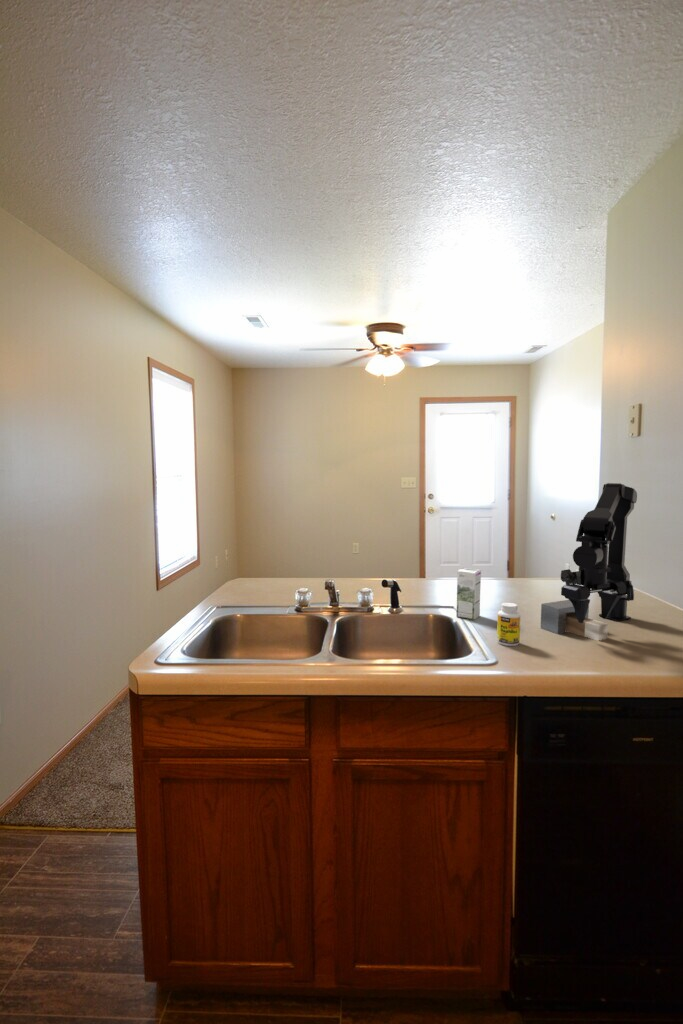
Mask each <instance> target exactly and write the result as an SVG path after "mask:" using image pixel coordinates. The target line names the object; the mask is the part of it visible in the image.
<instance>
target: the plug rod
mask: <svg viewBox="0 0 683 1024" xmlns="http://www.w3.org/2000/svg"><path fill="white" fill-rule="evenodd" d="M565 632H569V633H572V634H575V635H578V636H581V637H585V638H587V637H588V639H591V640H595V641H597V640H600V641H603V640H607V639H608V633H609V623H606V622H602V621H599V620H596V619H591V618H589V617H588V618H585V619H584V622H583V623H579V622H578V619H577V616H576V615H573V614H570V613H566V631H565ZM602 639H603V640H602Z"/></svg>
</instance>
